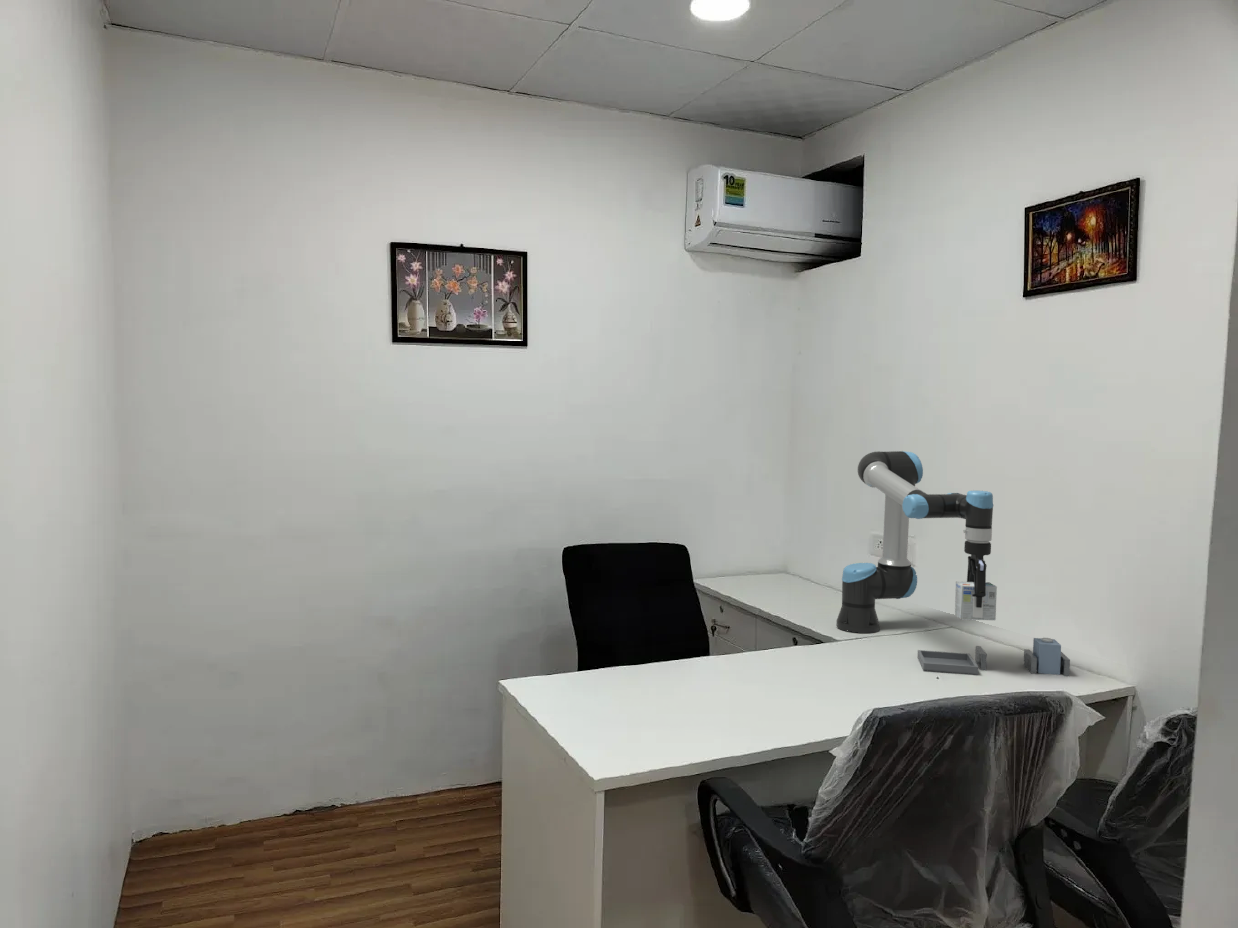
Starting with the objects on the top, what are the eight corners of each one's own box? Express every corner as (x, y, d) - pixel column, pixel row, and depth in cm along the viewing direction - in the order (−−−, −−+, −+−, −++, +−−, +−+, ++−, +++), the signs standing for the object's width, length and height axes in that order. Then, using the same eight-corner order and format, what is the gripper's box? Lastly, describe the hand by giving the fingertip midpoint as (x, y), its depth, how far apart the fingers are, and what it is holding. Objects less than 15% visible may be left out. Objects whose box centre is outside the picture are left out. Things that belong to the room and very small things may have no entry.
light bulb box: (988, 615, 263) (989, 581, 263) (996, 621, 257) (998, 586, 256) (953, 614, 264) (954, 580, 263) (960, 619, 257) (962, 585, 257)
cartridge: (1032, 666, 262) (1033, 635, 261) (1053, 667, 261) (1054, 636, 260) (1038, 672, 255) (1039, 641, 255) (1059, 674, 254) (1061, 642, 253)
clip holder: (975, 661, 267) (975, 645, 266) (1060, 667, 261) (1061, 651, 261) (980, 669, 258) (981, 653, 258) (1069, 676, 252) (1070, 659, 252)
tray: (917, 657, 270) (917, 649, 270) (969, 661, 267) (969, 653, 267) (923, 671, 256) (923, 663, 256) (978, 675, 253) (978, 666, 252)
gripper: (958, 535, 269) (955, 605, 271) (972, 545, 250) (968, 621, 251) (983, 536, 268) (980, 607, 269) (999, 547, 248) (995, 623, 250)
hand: (974, 614), depth 260 cm, fingers closed on light bulb box, 7 cm apart
